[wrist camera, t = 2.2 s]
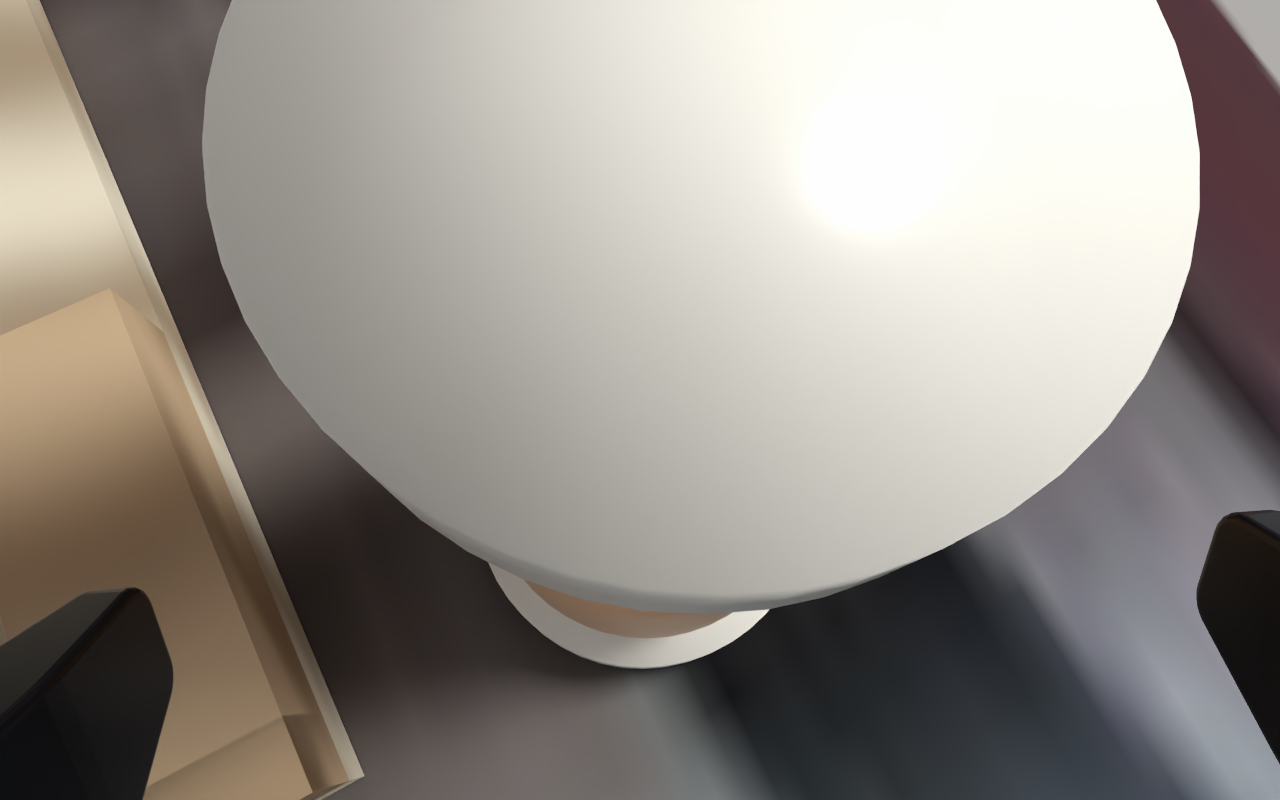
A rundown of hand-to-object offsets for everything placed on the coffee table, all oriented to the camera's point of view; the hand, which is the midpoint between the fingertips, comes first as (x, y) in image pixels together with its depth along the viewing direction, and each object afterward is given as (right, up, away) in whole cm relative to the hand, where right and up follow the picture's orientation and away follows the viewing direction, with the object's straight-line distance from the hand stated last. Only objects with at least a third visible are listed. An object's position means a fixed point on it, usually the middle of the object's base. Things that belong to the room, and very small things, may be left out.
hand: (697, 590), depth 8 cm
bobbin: (0, 0, +10) cm, 10 cm away
